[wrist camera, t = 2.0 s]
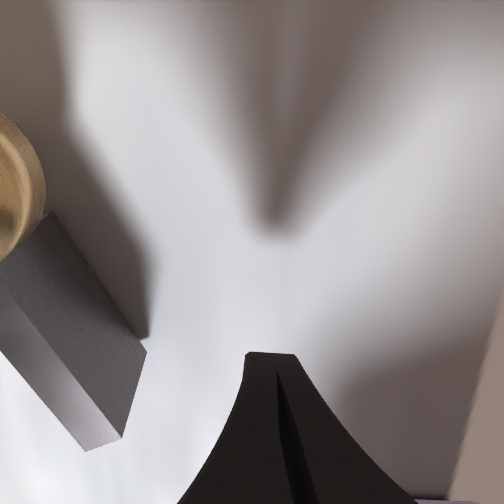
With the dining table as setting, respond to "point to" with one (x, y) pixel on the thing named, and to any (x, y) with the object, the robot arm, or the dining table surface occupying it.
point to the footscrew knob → (59, 309)
